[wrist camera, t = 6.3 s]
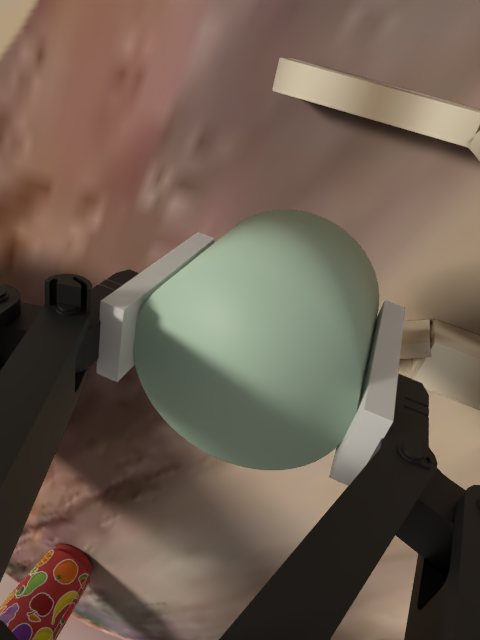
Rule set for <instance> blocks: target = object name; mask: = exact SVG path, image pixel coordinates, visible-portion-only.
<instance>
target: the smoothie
mask: <svg viewBox="0 0 480 640" xmlns="http://www.w3.org/2000/svg"><path fill="white" fill-rule="evenodd" d="M91 572H92V564H91V562H90V561H89V559H88V558H87V557H86V555H85V554H84V553H82V552H81V551H80V550H78V549H77V548H75V547H73V546H70V545H65V544H61V545H58V546H57V547H56V548H55V549H53V550H49V551H48V552H47V553H46V554H45V556H44V557H43V558H42V559H41V560H40V561H39V562H38V564H37V565H36V566H35V567H34V568H33V569H32V570H31V572H30V573H29V574H28V575H27V576H26V577H25V578H24V580H23V581H22V582H21V583H20V584H19V585H18V587H17V588H16V589H15V590H14V591H13V592H12V593H11V594H10V596H9V597H8V598H7V599H6V600H5V601H4V602H3V604H2V605H1V606H0V620H1V621H3V622H4V623H5V624H6V625H7V627H8V628H9V629H10V630H11V631H12V633H13V634H14V635H15V636H16V637H17V639H18V640H56V639H57V637H58V635H59V634H60V632H61V630H62V628H63V627H64V625H65V623H66V622H67V620H68V618H69V616H70V615H71V613H72V611H73V610H74V608H75V606H76V604H77V603H78V601H79V599H80V598H81V596H82V594H83V592H84V591H85V589H86V587H87V586H88V584H89V582H90V574H91Z"/></svg>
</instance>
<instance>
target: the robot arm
mask: <svg viewBox="0 0 480 640" xmlns="http://www.w3.org/2000/svg"><path fill="white" fill-rule="evenodd" d="M214 239H215V238H212V237H210V236H207V235H204V234H201V233H199V232H197V233H196V234H194V235H193V236H192V237H190V238H189V239H187V240H186V241H184V242H183V243H182V244H180V245H179V246H177V247H176V248H175V249H173V250H172V251H170V252H169V253H168V254H166V255H165V256H163V257H162V258H160V259H159V260H158V261H156V262H155V263H153V264H152V265H151V266H149V267H148V268H146V269H145V270H144V271H142V272H141V273H137V272H134V271H132V270H126V271H122V272H118V273H115V274H114V275H112V276H111V277H109V278H108V279H107V280H105V281H103V282H102V283H100V285H97V286H95V287H94V288H92V284H91V283H90V281H89V280H87V279H86V278H84V277H82V276H78V275H74V274H59V275H55V276H52V277H49V278H48V279H47V280H45V306H44V307H42V306H36V305H30V304H25V303H20V293H19V292H18V291H17V290H16V289H14V288H12V287H10V286H6V285H0V582H1V579H2V577H3V575H4V572H5V570H6V568H7V565H8V563H9V561H10V558H11V556H12V554H13V551H14V549H15V547H16V544H17V542H18V540H19V537H20V535H21V533H22V530H23V528H24V526H25V523H26V521H27V519H28V516H29V514H30V512H31V509H32V507H33V504H34V502H35V500H36V497H37V495H38V493H39V490H40V488H41V486H42V483H43V481H44V479H45V476H46V474H47V472H48V469H49V467H50V465H51V462H52V460H53V458H54V455H55V453H56V451H57V448H58V446H59V444H60V441H61V439H62V437H63V434H64V432H65V430H66V427H67V425H68V423H69V420H70V418H71V416H72V413H73V411H74V408H75V406H76V404H77V401H78V399H79V397H80V394H81V392H82V390H83V387H84V385H85V383H86V380H87V378H88V367H89V366H90V365H91V364H92V363H94V362H95V361H96V360H97V371H96V373H97V374H99V375H102V376H104V377H106V378H108V379H111V380H113V381H115V382H118V381H119V380H120V379H121V378H122V377H123V376H124V375H125V374H126V373H127V372H128V371H129V370H130V369H131V368H132V367H133V366H134V365H135V362H134V355H133V345H134V337H135V328H136V321H137V318H138V316H139V313H140V311H141V309H142V308H143V306H144V304H145V302H146V301H147V300H148V299H149V297H150V296H151V295H152V294H153V293H154V292H155V291H156V290H157V289H158V288H159V287H160V286H162V285H163V284H164V283H165V282H166V281H168V280H169V279H170V278H171V277H173V276H174V275H175V274H176V273H178V272H179V271H180V270H181V269H183V268H184V267H185V266H186V265H188V264H189V263H190V262H191V261H193V260H194V259H195V258H196V257H198V256H199V255H200V254H201V253H202V252H204V251H205V250H206V249H207V248H209V247H210V246H211V245H212V244H214ZM404 313H405V307H402V306H399V305H397V304H394V303H391V302H388V301H386V300H385V301H384V303H383V306H382V308H381V310H380V312H379V314H378V316H377V319H376V322H375V327H374V332H373V337H372V341H371V346H370V351H369V356H368V360H367V365H366V370H365V374H364V379H363V384H362V389H361V393H360V398H359V403H358V407H357V412H356V415H355V417H354V419H353V421H352V423H351V425H350V427H349V429H348V431H347V433H346V435H345V437H344V439H343V440H342V441H341V443H340V444H339V445H338V446H337V448H336V452H335V456H334V460H333V464H332V468H331V472H330V476H329V477H330V478H332V479H335V480H337V481H339V482H341V483H344V484H346V485H348V487H347V488H346V490H345V491H344V492H343V493H342V494H341V496H340V497H339V498H338V499H337V500H336V501H335V503H334V504H333V505H332V506H331V507H330V509H329V510H328V511H327V512H326V513H325V515H324V516H323V517H322V518H321V519H320V520H319V522H318V523H317V524H316V525H315V526H314V528H313V529H312V530H311V531H310V532H309V534H308V535H307V536H306V537H305V538H304V539H303V541H302V542H301V543H300V544H299V545H298V547H297V548H296V549H295V550H294V551H293V553H292V554H291V555H290V556H289V557H288V558H287V560H286V561H285V562H284V563H283V564H282V566H281V567H280V568H279V569H278V570H277V572H276V573H275V574H274V575H273V576H272V577H271V579H270V580H269V581H268V582H267V583H266V585H265V586H264V587H263V588H262V589H261V591H260V592H259V593H258V594H257V595H256V596H255V598H254V599H253V600H252V601H251V602H250V604H249V605H248V606H247V607H246V608H245V610H244V611H243V612H242V613H241V614H240V615H239V617H238V618H237V619H236V620H235V621H234V623H233V624H232V625H231V626H230V627H229V629H228V630H227V631H226V632H225V633H224V634H223V636H222V637H221V638H220V639H219V640H330V638H331V637H332V635H333V634H334V632H335V630H336V629H337V627H338V626H339V624H340V622H341V621H342V619H343V618H344V616H345V614H346V613H347V611H348V610H349V608H350V606H351V605H352V603H353V602H354V600H355V598H356V597H357V595H358V594H359V592H360V590H361V589H362V587H363V586H364V584H365V582H366V581H367V579H368V578H369V576H370V574H371V573H372V571H373V570H374V568H375V566H376V565H377V563H378V562H379V560H380V559H381V557H382V555H383V554H384V552H385V551H386V549H387V547H388V546H389V544H390V543H391V541H392V539H393V538H394V536H395V535H396V536H397V537H398V538H400V539H401V540H402V541H403V542H405V543H406V544H407V545H409V546H410V547H411V548H412V549H414V550H415V551H416V552H417V553H418V559H417V565H416V571H415V577H414V584H413V590H412V596H411V602H410V608H409V614H408V620H407V626H406V632H405V638H404V640H480V485H473V486H471V487H469V488H468V489H467V490H464V489H463V488H461V487H460V486H459V485H457V484H456V483H454V482H453V481H451V480H450V479H449V478H447V477H446V476H445V475H444V474H442V473H441V471H440V470H439V469H438V468H437V461H436V458H435V455H434V454H433V452H432V451H431V450H430V448H429V417H428V415H429V408H428V407H429V395H428V393H427V391H426V389H425V387H424V386H423V384H422V383H421V382H418V381H415V380H413V379H410V378H408V377H405V376H403V375H400V374H398V371H399V361H400V351H401V342H402V332H403V322H404ZM0 640H18V639H17V637H16V636H15V635H14V634H13V633H12V631H11V630H10V629H9V628H8V627H7V625H6V624H5V623H4V622H3V621H1V620H0Z"/></svg>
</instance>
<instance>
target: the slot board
mask: <svg viewBox="0 0 480 640" xmlns="http://www.w3.org/2000/svg"><path fill="white" fill-rule="evenodd" d="M272 91H275V92H279V93H282V94H286V95H289V96H292V97H296V98H299V99H303V100H306V101H310V102H313V103H317V104H320V105H323V106H327V107H330V108H334V109H337V110H341V111H344V112H348V113H351V114H354V115H358V116H361V117H365V118H368V119H372V120H375V121H379V122H382V123H385V124H389V125H392V126H396V127H399V128H403V129H406V130H409V131H413V132H416V133H420V134H423V135H427V136H430V137H434V138H437V139H440V140H444V141H447V142H451V143H454V144H458V145H461V146H465V147H468V148H469V149H470V150H471V151H472V152H473V154H474V155H475V156H476V157H477V159H478V160H479V161H480V110H479V109H476V108H473V107H469V106H465V105H462V104H458V103H454V102H451V101H447V100H443V99H440V98H436V97H432V96H429V95H425V94H421V93H418V92H414V91H411V90H407V89H403V88H400V87H396V86H392V85H389V84H385V83H381V82H378V81H374V80H370V79H367V78H363V77H359V76H356V75H352V74H348V73H345V72H341V71H338V70H334V69H330V68H327V67H323V66H319V65H316V64H312V63H308V62H305V61H301V60H297V59H292V58H280V59H279V63H278V68H277V72H276V76H275V80H274V85H273V89H272ZM409 358H413V366H412V379H413V380H415V381H418V382H421V383H422V384H423V386H424V387H425V389H427V390H429V391H432V392H435V393H437V394H440V395H442V396H445V397H447V398H450V399H452V400H455V401H458V402H460V403H463V404H465V405H468V406H470V407H473V408H475V409H478V410H480V335H478V334H475V333H472V332H469V331H466V330H464V329H461V328H458V327H455V326H453V325H450V324H447V323H444V322H442V321H439V320H436V319H434V320H433V322H432V324H431V326H430V319H427V320H416V321H405V322H403V332H402V342H401V351H400V359H409Z"/></svg>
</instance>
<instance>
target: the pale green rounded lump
mask: <svg viewBox="0 0 480 640" xmlns="http://www.w3.org/2000/svg"><path fill="white" fill-rule="evenodd" d="M378 308H379V288H378V282H377V278H376V274H375V271H374V269H373V267H372V264H371V262H370V260H369V258H368V257H367V255H366V253H365V252H364V250H363V249H362V248H361V246H360V245H359V244H358V243H357V241H356V240H355V239H354V238H353V237H351V236H350V235H349V234H348V233H347V232H346V231H345V230H343V229H342V228H341V227H339V226H338V225H336V224H335V223H333V222H331V221H329V220H327V219H325V218H323V217H320V216H318V215H316V214H312V213H308V212H305V211H298V210H272V211H266V212H263V213H259V214H256V215H254V216H251V217H249V218H247V219H245V220H244V221H242V222H240V223H239V224H237V225H236V226H235V227H234V228H232V229H231V230H230V231H229V232H227V233H226V234H225V235H224V236H222V237H221V238H220V239H219V240H217V241H216V242H215V243H214V244H212V245H211V246H210V247H209V248H207V249H206V250H205V251H204V252H202V253H201V254H200V255H199V256H198V257H196V258H195V259H194V260H193V261H191V262H190V263H189V264H188V265H186V266H185V267H184V268H183V269H181V270H180V271H179V272H178V273H176V274H175V275H174V276H173V277H171V278H170V279H169V280H168V281H166V282H165V283H164V284H163V285H162V286H160V287H159V288H158V289H157V290H156V291H155V292H154V293H153V294H152V295H151V296H150V297H149V299H148V300H147V301H146V302H145V304H144V306H143V308H142V309H141V311H140V313H139V316H138V318H137V321H136V328H135V337H134V345H133V355H134V362H135V366H136V371H137V374H138V377H139V379H140V382H141V385H142V387H143V389H144V391H145V393H146V395H147V397H148V398H149V400H150V401H151V403H152V405H153V406H154V407H155V409H156V410H157V411H158V413H159V414H160V415H161V417H162V418H163V419H164V420H165V421H166V422H167V423H168V424H169V425H170V426H171V427H172V428H173V429H174V430H175V431H176V432H177V433H178V434H179V435H181V436H182V437H183V438H185V439H186V440H187V441H189V442H190V443H191V444H193V445H194V446H196V447H197V448H199V449H201V450H202V451H204V452H206V453H208V454H210V455H212V456H214V457H216V458H218V459H221V460H223V461H226V462H228V463H232V464H235V465H238V466H242V467H247V468H252V469H260V470H285V469H293V468H297V467H301V466H305V465H307V464H310V463H312V462H315V461H317V460H319V459H321V458H322V457H324V456H326V455H327V454H329V453H330V452H331V451H332V450H334V449H335V448H336V447H337V446H338V445H339V444H340V443H341V441H342V440H343V439H344V437H345V435H346V433H347V431H348V429H349V427H350V425H351V423H352V421H353V419H354V417H355V415H356V412H357V407H358V403H359V398H360V393H361V389H362V384H363V379H364V374H365V370H366V365H367V360H368V356H369V351H370V346H371V341H372V337H373V332H374V327H375V322H376V318H377V313H378Z"/></svg>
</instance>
